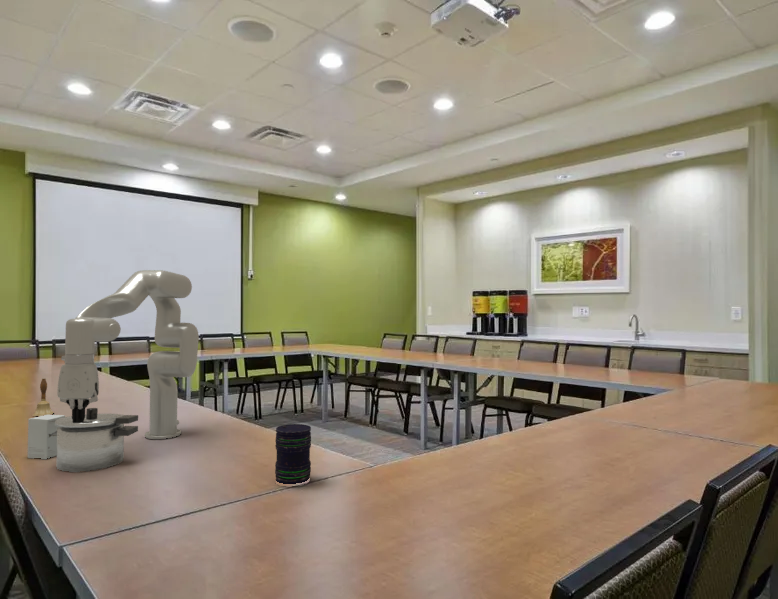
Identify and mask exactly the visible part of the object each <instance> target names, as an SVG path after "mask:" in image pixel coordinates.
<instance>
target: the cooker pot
mask: <svg viewBox="0 0 778 599" xmlns="http://www.w3.org/2000/svg"><path fill="white" fill-rule="evenodd" d="M137 432H139V426H138V425H125V424H114V425H108V426H99V427H86V428H65V427H58V428H57V456H56V463H55V464H56V466H55V467H57V468H56V470H58V469H59V470H58V471H60V470H62V471H61V472H64V471H69V472H68V473H81V472H80V471H86V472H91V471H90V470H94V471H98V470H97V469H100V470H103V469H102V468H105V469H108V468H111V467H110V466H112V467H114V466H113V465H115V466H117V465H119V464H121V463H122V462H124V459H123V458H124V454H125V453H124V452H125V451H124V450H125V449H124V448H125V447H124V444H125V443H124V442H125V441H124V439H125V438H124V437H128V436H130V435H133V434H135V433H137ZM121 461H122V462H121ZM120 462H121V463H120ZM118 463H119V464H118ZM116 464H117V465H116ZM107 467H108V468H107Z"/></svg>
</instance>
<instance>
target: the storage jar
mask: <svg viewBox="0 0 778 599" xmlns="http://www.w3.org/2000/svg"><path fill="white" fill-rule="evenodd" d="M311 430H312V427H311V426H310V425H309V424H303V423H302V424H301V423H288V424H282V425H278V426H277V427H276V428H275V432H276V433H275V445H274V446H275V450H276V461H275V469H274V474H275V480H276V481H277V482H279V483H283V484H296V483H302V482H305V481H307V480H308V479H309V478H310V479H311V472H312V471H311V470H312V468H311V465H312V462H311V459H310V458H311V457H310V456H311V455H310V454H311V452H310V451H311V448H312V447H311V446H312V435H311V434H312V433H311Z"/></svg>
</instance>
